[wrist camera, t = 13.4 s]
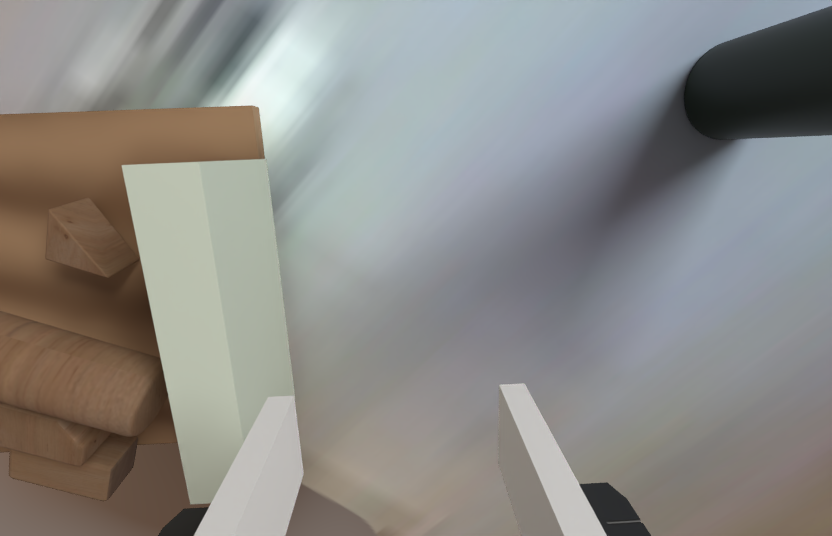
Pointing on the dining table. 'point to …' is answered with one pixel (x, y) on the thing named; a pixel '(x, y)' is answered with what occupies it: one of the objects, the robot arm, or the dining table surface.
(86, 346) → the wooden block set
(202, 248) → the bookend
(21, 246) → the wooden board
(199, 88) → the dining table surface
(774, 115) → the wine bottle
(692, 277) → the dining table surface
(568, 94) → the dining table surface
